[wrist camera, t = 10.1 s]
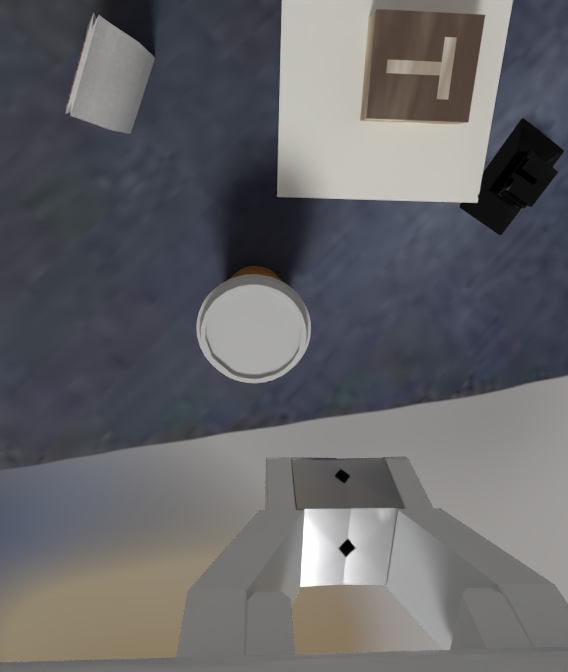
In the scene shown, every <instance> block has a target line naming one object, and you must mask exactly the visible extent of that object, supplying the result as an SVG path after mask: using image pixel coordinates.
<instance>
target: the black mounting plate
mask: <svg viewBox="0 0 568 672" xmlns="http://www.w3.org/2000/svg"><path fill="white" fill-rule="evenodd" d="M563 152H564V150H563V149H561V148H560V147H559V146H558V145H556V144H555V143H554V142H553V141H551V140H550V139H549V138H548V137H546V136H545V135H544V134H543V133H541V132H540V131H539V130H538V129H536V128H535V127H534V126H533V125H531V124H530V123H529V122H528V121H526V120H525V119H521V120H520V122H519V123H518V125H517V126H516V127H515V129H514V130H513V132H512V133H511V134H510V136H509V137H508V139H507V140H506V141H505V143H504V144H503V146H502V147H501V148H500V150H499V151H498V153H497V154H496V155H495V157H494V158H493V160H492V161H491V162H490V164H489V165H488V167H487V168H486V169H485V171H484V172H483V175H482V181H481V186H480V192H479V195H478V203H465V202H462V203H461V205H460V208H461V209H463V210H464V211H466V212H467V213H468V214H470V215H471V216H473V217H474V218H476V219H477V220H479V221H480V222H482V223H483V224H484V225H486V226H487V227H489V228H490V229H492V230H493V231H495V232H496V233H497V234H499V235H501V234H502V233H503V232H504V231H505V229H506V228H507V227H508V225H509V224H510V223H511V221H512V220H513V219H514V217H515V216H516V215H517V213H518V212H519V211H520V209H521V208H525V207H526V206H530V207H532V206H533V204H534V203H535V202H536V200H537V199H538V198H539V197H540V195H541V194H542V193H543V191H544V190H545V189H546V187H547V186H548V185H549V183H550V182H551V181H552V179H553V178H554V177H555V176H556V174H557V173H558V171H557V170H555V169H554V168H553V166H554V164H555V163H556V162H557V160H558V159H559V158H560V156H561V155H562V154H563Z"/></svg>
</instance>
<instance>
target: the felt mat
mask: <svg viewBox="0 0 568 672" xmlns="http://www.w3.org/2000/svg"><path fill="white" fill-rule="evenodd" d="M512 2H513V0H282V17H281V57H280V96H279V135H278V174H277V197H297V198H330V199H364V200H398V201H432V202H465V203H478V195H479V192H480V186H481V181H482V175H483V169H484V163H485V158H486V152H487V146H488V140H489V135H490V129H491V123H492V117H493V112H494V106H495V100H496V94H497V89H498V83H499V77H500V71H501V66H502V60H503V54H504V48H505V42H506V37H507V31H508V25H509V19H510V14H511V8H512ZM376 9H386V10H405V11H424V12H443V13H462V14H481V15H485V20H484V26H483V33H482V39H481V45H480V52H479V58H478V64H477V71H476V77H475V83H474V90H473V96H472V102H471V109H470V115H469V121H468V122H467V123H461V124H429V123H403V122H378V121H360V116H361V104H362V92H363V80H364V68H365V56H366V43H367V31H368V19H369V18H370V17H371V15H372V14H373V13H374V12H375V10H376Z"/></svg>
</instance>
